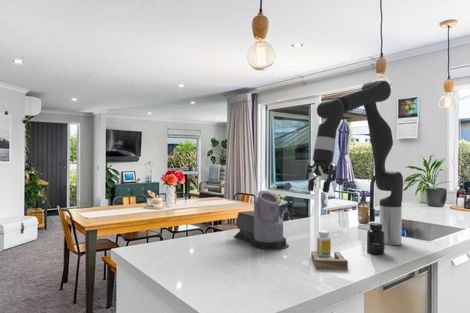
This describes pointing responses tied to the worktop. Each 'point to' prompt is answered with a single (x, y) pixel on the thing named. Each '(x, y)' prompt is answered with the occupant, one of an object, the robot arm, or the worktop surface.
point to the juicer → (262, 224)
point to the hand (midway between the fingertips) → (317, 191)
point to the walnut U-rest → (329, 261)
